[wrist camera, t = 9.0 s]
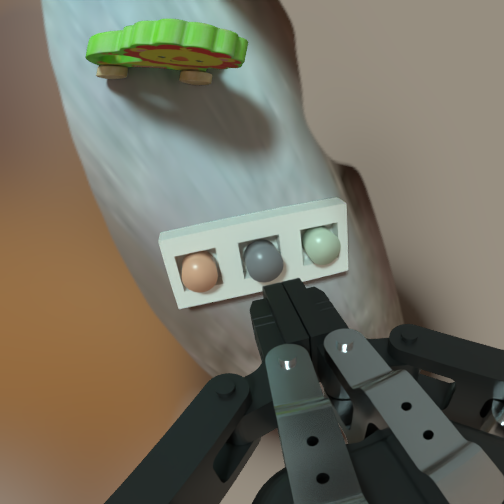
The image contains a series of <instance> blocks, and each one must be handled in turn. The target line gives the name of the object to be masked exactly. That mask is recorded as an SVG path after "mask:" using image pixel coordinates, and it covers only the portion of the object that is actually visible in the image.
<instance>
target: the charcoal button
mask: <svg viewBox="0 0 504 504" xmlns="http://www.w3.org/2000/svg"><path fill="white" fill-rule="evenodd" d="M243 258H244V262H245V265H246V267H247V270H248V273H249V275H250V276H251V278H252V279H254V280H255V281H258V282H263V283H264V282H270V281H272V280H274V279H276V278H277V277H278V276H279V275H280V274H281V272H282V270H283V265H284V264H283V259H282V257H281V255H280V254H279V252H278V250H277V249H276V247H275V246H274V244H273V243H271V242H270V241H268V240H264V239H260V240H255V241H253V242H251V243H250V244H249V245H248V246H247V247H246V249H245V251H244V255H243Z"/></svg>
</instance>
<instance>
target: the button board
mask: <svg viewBox="0 0 504 504" xmlns="http://www.w3.org/2000/svg"><path fill="white" fill-rule="evenodd" d="M322 225H323V226H325V227H327V228H328V229H329V230H330V231H331V232H332V233H333V234H334V235H335V236H337V237H338V239H339V241H340V244H341V249H340V253H339V255H338V256H337V258H336V259H335V260H334V261H332V262H331V263H329V264H326V265H318V264H316V263H314V262H313V261H312V260H311V259H310V257H309V256H308V255H307V254H306V252H305V251H304V250H303V248H302V245H301V238H302V235H303V233H304V232H305V231H306V230H307V229H308V228H312V227H317V226H322ZM260 239H264V240H268V241H270V242H271V243H273V244H274V246H275V247H276V249H277V250H278V252H279V254H280V255H281V257H282V259H283V264H284V265H283V270H282V272H281V274H280V275H279V276H278V277H277V278H276V279H274V280H272V281H270V282H264V283H263V282H258V281H255V280H254V279H252V278H251V276H250V275H249V273H248V270H247V267H246V265H245V262H244V258H243V255H244V251H245V249H246V247H247V246H248V245H249V244H250V243H251V242H253V241H255V240H260ZM158 242H159V245H160V249H161V252H162V256H163V259H164V263H165V266H166V270H167V273H168V276H169V279H170V283H171V286H172V289H173V292H174V295H175V299H176V302H177V305H178V308H179V309H182V308H187V307H192V306H197V305H201V304H206V303H211V302H216V301H220V300H225V299H229V298H234V297H239V296H243V295H248V294H252V293H257V292H261V291H263V290H262V286H265V285H270V284H274V283H279V282H283V281H287V280H291V279H296V278H300V279H301V281H302V282H304V281H308V280H312V279H316V278H320V277H324V276H328V275H332V274H336V273H340V272H344V271H348V234H347V207H346V203H345V202H344V201H342V200H341V199H339V198H337V197H335V198H329V199H323V200H318V201H312V202H307V203H301V204H296V205H291V206H285V207H280V208H275V209H270V210H265V211H260V212H255V213H250V214H245V215H240V216H235V217H230V218H225V219H220V220H216V221H211V222H206V223H202V224H197V225H192V226H188V227H183V228H179V229H174V230H170V231H165V232H161V233H160V236H159V241H158ZM203 250H205V251H207V252H209V253H210V254H211V255H212V256H213V257H214V259H215V262H216V268H217V273H218V279H217V282H216V284H215V286H214V287H213V288H211V289H210V290H208V291H206V292H193V291H191V290H189V289H188V288H187V287H186V286H185V285H184V284H183V281H182V262H183V259H184V257H185V256H186V255H187V254H189V253H193V252H198V251H203Z"/></svg>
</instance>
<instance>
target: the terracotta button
mask: <svg viewBox="0 0 504 504" xmlns="http://www.w3.org/2000/svg"><path fill="white" fill-rule="evenodd" d="M217 279H218V273H217V268H216V262H215V259H214V257H213V256H212V255H211V254H210V253H209V252H207V251H205V250H203V251H198V252H193V253H189V254H187V255H186V256H185V257H184V259H183V262H182V281H183V284H184V285H185V286H186V287H187V288H188V289H189V290H191V291H193V292H206V291H208V290H210V289H211V288H213V287H214V286H215V284H216V282H217Z"/></svg>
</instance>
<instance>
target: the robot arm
mask: <svg viewBox="0 0 504 504" xmlns="http://www.w3.org/2000/svg"><path fill="white" fill-rule="evenodd" d="M262 290H263V297H264V299H260V300H256V301H253V302H252V305H251V308H250V314H251V320H252V325H253V330H254V335H255V340H256V343H257V347H258V350H259V353H260V357H261V360H262V364H261V365H260V367H259V368H258V369H257V370H256V371H254V372H253V373H251V374H249V375H247V376H245V377H244V378H243V377H242V376H240V375H237V374H231V373H228V374H221V375H218V376H216V377H214V378H212V379H211V380H210V381H209V382H208V383H207V384H206V385H205V386H204V387H203V389H202V390H201V391H200V393H199V394H198V395H197V396H196V397H195V399H194V400H193V401H192V402H191V403H190V405H189V406H188V407H187V408H186V409H185V411H184V412H183V413H182V414H181V416H180V417H179V418H178V419H177V420H176V422H175V423H174V424H173V425H172V426H171V428H170V429H169V430H168V431H167V432H166V434H165V435H164V436H163V437H162V438H161V439H160V441H159V442H158V443H157V444H156V445H155V446H154V448H153V449H152V450H151V451H150V452H149V453H148V455H147V456H146V457H145V458H144V459H143V460H142V462H141V463H140V464H139V465H138V466H137V467H136V468H135V470H134V471H133V472H132V473H131V474H130V475H129V476H128V478H127V479H126V480H125V481H124V482H123V483H122V484H121V486H120V487H119V488H118V489H117V490H116V491H115V492H114V493H113V494H112V495H111V496H110V498H109V499H108V500H107V501H106V502H105V503H104V504H219V503H220V502H221V500H222V499H223V498H224V496H225V495H226V493H227V492H228V490H229V489H230V487H231V486H232V484H233V483H234V481H235V480H236V478H237V477H238V475H239V474H240V472H241V471H242V469H243V468H244V466H245V464H246V463H247V461H248V460H249V458H250V457H251V455H252V453H253V452H254V450H255V448H256V447H257V445H258V444H259V442H260V440H261V437H262V436H263V435H265V434H267V433H269V432H270V431H272V430H274V429H276V428H278V433H279V438H280V443H281V448H282V454H283V459H284V464H285V468H283V469H282V470H280V471H279V472H277V473H276V474H275V475H273V476H272V477H271V478H270V479H269V480H268V481H267V482H266V483H265V484H264V485H263V486H262V488H261V489H260V490H259V492H258V493H257V495H256V497H255V499H254V500H253V502H252V504H504V350H501V349H497V348H493V347H490V346H486V345H483V344H479V343H476V342H472V341H469V340H465V339H461V338H458V337H454V336H451V335H447V334H444V333H440V332H437V331H434V330H430V329H427V328H423V327H420V326H416V325H412V324H403V325H399V326H397V327H395V328H394V329H393V330H392V331H391V333H390V336H389V338H381V339H366V338H365V337H364V336H363V335H362V334H361V333H360V332H358V331H356V330H353V329H349V328H348V326H347V325H346V323H345V322H344V320H343V319H342V318H341V316H340V315H339V313H338V312H337V310H336V309H335V307H334V306H333V304H332V303H331V302H330V301H329V299H328V297H327V296H326V294H325V293H324V292H323V291H321V290H319V289H318V288H316V287H311V288H307V289H306V287H305V286H304V284H303V283H302V281H301V279H300V278H296V279H291V280H287V281H283V282H279V283H274V284H270V285H265V286H262ZM421 369H422V370H425V371H429V372H432V373H435V374H438V375H441V376H444V377H448V378H451V379H453V380H454V381H455V382H453V383H447V382H444V381H441V380H438V379H435V378H431V377H428V376H425V375H422V374H420V371H421ZM319 382H321V383H322V385H323V387H324V396H323V393H322V390H321V387H320V384H319ZM339 425H340V427H341V429H342V430H343V432H344V434H345V436H346V438H347V442H348V444H345V442H344V439H343V436H342V433H341V430H340V427H339Z"/></svg>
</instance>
